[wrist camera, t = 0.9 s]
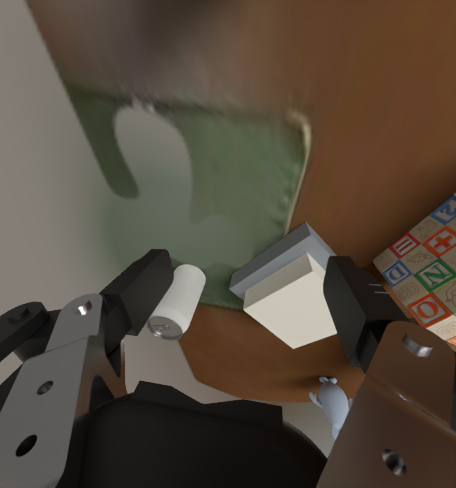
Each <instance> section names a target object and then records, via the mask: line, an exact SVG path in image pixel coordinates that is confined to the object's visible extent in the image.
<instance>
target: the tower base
mask: <svg viewBox="0 0 456 488" xmlns="http://www.w3.org/2000/svg"><path fill="white" fill-rule="evenodd" d="M330 256H337V255H336V254H335V253H334V252H333V251H332V250H331V249H330V247H329V246H328V245H327V244H326V243H325V242H324V241H323V240H322V239H321V238H320V237H319V236H318V234H317V233H316V232H315V231H314V230H313V229H312V228H311V227H310V226H309V225H308V224H307V223H306V222H305V223H303V224H302V225H300V226H299V227H298V228H296V229H295V230H293V231H292V232H291V233H289V234H288V235H286V236H285V237H283V238H282V239H281V240H279V241H278V242H276V243H275V244H274V245H272V246H271V247H269V248H268V249H267V250H265V251H264V252H262V253H261V254H260V255H258V256H257V257H255V258H254V259H253V260H251V261H250V262H248V263H247V264H246V265H244V266H243V267H241V268H240V269H239V270H237V271H236V272H234V273H233V274H232V278H231V283H230V287H229V289H230V290H231V291H232V292H233V293H235V294H236V295H237V296H238V297H240V298H241V299H242V300H243V301H244V307H243V310H244V311H245V312H247V313H248V314H249V315H250V316H252V317H253V318H254V319H256V320H257V321H258V322H259V323H261V324H262V325H263V326H265V327H266V328H267V329H268V330H270V331H271V332H272V333H274V334H275V335H276V336H277V337H279V338H280V339H281V340H282V341H284V342H285V343H286V344H288V345H289V346H290V347H291V348H293V349H294V348H297V347H300V346H303V345H306V344H308V343H311V342H314V341H317V340H320V339H323V338H325V337H328V336H331V335H334V334H337V331H336V328H335V325H334V323H333V320H332V317H331V314H330V311H329V309H328V306H327V303H326V300H325V298H324V294H323V282H324V277H325V272H326V267H327V262H328V258H329V257H330Z"/></svg>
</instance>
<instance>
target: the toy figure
mask: <svg viewBox="0 0 456 488" xmlns="http://www.w3.org/2000/svg"><path fill="white" fill-rule="evenodd" d="M319 380H320V381H321V382H323V383H324V384H323V385H322V386H321V387H320V389H319V401H320V403H318V402H317V400H316V394H314V395H313V393H312V392H310V393H309V397H310V399H311V400H312V401H313V402H314V403H315V404H316V405H318V406H320V407H321V408H322V409H323V411H324V413H325V415H326V417H327V418H328V420H329V421H330V423H331V425H332V430H331V433H332V436H333V438H334V439H335V440H336V438H337V436H338V429H341V427H342V425H343V423H344V420H345V418H346V416H347V414H348V411H349V409H350V407H349V408H348V401H347V398H346V395H345V394H344V392H343V391H342V390H341V389H340V388H339V387H338V386H337V385H336V384H335V383H336V382H337V380H336V379H335V378H333V377H330V378H329V379H327V378H326V377H324V376H321V377H320V378H319ZM328 381H329V382H328ZM354 398H355V397H353V398H352V399H351V398H350V399H349V400H350V402H351V405H352V402H353V400H354Z"/></svg>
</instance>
